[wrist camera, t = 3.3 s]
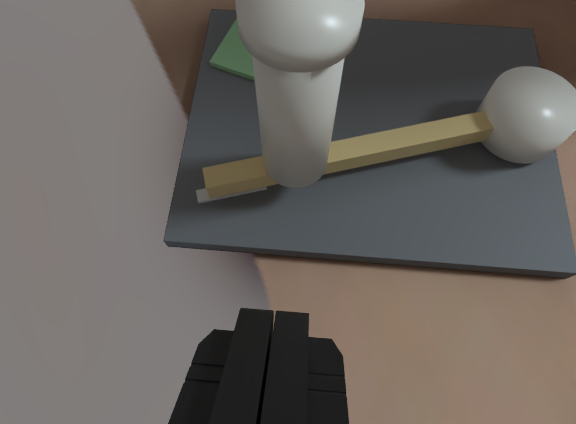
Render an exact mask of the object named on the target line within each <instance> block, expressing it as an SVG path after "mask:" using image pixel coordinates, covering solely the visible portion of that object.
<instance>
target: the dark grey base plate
mask: <svg viewBox="0 0 576 424" xmlns="http://www.w3.org/2000/svg"><path fill="white" fill-rule="evenodd" d="M522 66H531V67H539V68H540V63H539V57H538V52H537V47H536V41H535V36H534V31H533V29H530V28H514V27H497V26H481V25H464V24H448V23H432V22H415V21H399V20H382V19H366V18H362V23H361V28H360V33H359V38H358V40H357V43H356V45H355V46H354V48H353V50H352V51H351V52H350V53H349V54H348V55H347V56H346V57H345V59H344V65H343V71H342V77H341V83H340V89H339V95H338V101H337V107H336V114H335V120H334V126H333V132H332V138H331V142H333V141H338V140H343V139H348V138H352V137H357V136H362V135H367V134H372V133H377V132H382V131H387V130H392V129H397V128H402V127H407V126H412V125H417V124H421V123H426V122H431V121H436V120H441V119H446V118H451V117H456V116H461V115H466V114H471V113H476V110H477V109H478V107H479V105H480V104H481V102H482V101H483V99H484V98H485V96H486V95H487V93H488V91H489V90H490V88H491V87H492V85H493V84H494V82H495V81H496V79H497V78H498V77H499V76H500V75H501V74H502V73H504V72H506V71H507V70H510V69H512V68H516V67H522ZM259 156H262V146H261V136H260V127H259V117H258V107H257V98H256V88H255V78H254V69H253V59H252V55H251V54H250V53H249V52H248V51H247V49H246V48H245V47H244V45H243V43H242V41H241V38H240V35H239V29H238V21H237V14H236V11H235V10H218V9H212V10H211V15H210V19H209V24H208V29H207V34H206V39H205V43H204V48H203V53H202V58H201V63H200V67H199V72H198V77H197V82H196V87H195V91H194V96H193V101H192V106H191V111H190V115H189V120H188V125H187V130H186V135H185V139H184V144H183V149H182V154H181V159H180V163H179V169H178V173H177V178H176V183H175V188H174V193H173V197H172V202H171V207H170V212H169V216H168V221H167V226H166V231H165V236H164V242H165V243H166V245H167V246H168V247H169V246H170V247H181V248H193V249H206V250H219V251H231V252H244V253H256V254H269V255H282V256H294V257H307V258H319V259H332V260H345V261H357V262H370V263H382V264H395V265H408V266H420V267H433V268H445V269H458V270H471V271H483V272H496V273H508V274H521V275H534V276H546V277H559V278H569V277H572V276H574V275H576V256H575V251H574V245H573V240H572V235H571V229H570V224H569V218H568V213H567V208H566V202H565V197H564V192H563V186H562V181H561V176H560V170H559V165H558V159H557V154H556V149H555V150H554V151H553V152H552V153H551V154H550V155H549V156H548V157H546V158H545V159H543V160H541V161H538V162H535V163H529V164H521V163H514V162H510V161H506V160H504V159H501V158H499V157H498V156H496V155H494V154H493V153H491V152H490V151H489V150H488V149H486V147H485V146H484V145H483V144H482V143H481V142H476V143H471V144H467V145H462V146H457V147H452V148H448V149H443V150H438V151H433V152H429V153H424V154H419V155H414V156H409V157H405V158H400V159H395V160H390V161H386V162H381V163H376V164H371V165H367V166H362V167H357V168H352V169H347V170H343V171H338V172H333V173H328V174H324V175H322V176H321V178H320V179H319V180H318V181H316V182H315V183H313V184H311V185H309V186H306V187H302V188H289V187H285V186H282V185H280V184H276V185H271V186H266V187H262V188H257V189H252V190H247V191H243V192H238V193H233V194H228V195H223V196H219V197H214V198H209V195H208V192H207V190H206V186H205V180H204V175H203V169H202V168H205V167H210V166H215V165H219V164H224V163H229V162H234V161H239V160H244V159H249V158H254V157H259Z"/></svg>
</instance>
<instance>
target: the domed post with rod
mask: <svg viewBox="0 0 576 424" xmlns="http://www.w3.org/2000/svg"><path fill="white" fill-rule="evenodd" d="M235 6H236V14H237V21H238V29H239V35H240V38H241V41H242V43H243V45H244V47H245V48H246V49H247V51H248V52H249V53H250V54H251V55H252V59H253V69H254V78H255V88H256V98H257V107H258V117H259V127H260V136H261V146H262V156H259V157H254V158H249V159H244V160H239V161H234V162H229V163H224V164H219V165H215V166H210V167H205V168H202V169H203V175H204V180H205V186H206V190H207V192H208V195H209V198H214V197H219V196H223V195H228V194H233V193H238V192H243V191H247V190H252V189H257V188H262V187H266V186H271V185H276V184H280V185H282V186H285V187H289V188H302V187H306V186H309V185H311V184H313V183H315V182H316V181H318V180H319V179H320V178H321V176H322V175H324V174H328V173H333V172H338V171H343V170H347V169H352V168H357V167H362V166H367V165H371V164H376V163H381V162H386V161H390V160H395V159H400V158H405V157H409V156H414V155H419V154H424V153H429V152H433V151H438V150H443V149H448V148H452V147H457V146H462V145H467V144H471V143H476V142H481V143H482V144H483V145H484V146H485V147H486V149H488V150H489V151H490V152H491V153H493V154H494V155H496V156H498V157H499V158H501V159H504V160H506V161H510V162H514V163H521V164H529V163H535V162H538V161H541V160H543V159H545V158H546V157H548V156H549V155H550V154H551V153H552V152H553V151H554V150H555V149H556V148H558V147H559V146H560V145H561V144H562V143H563V142H564V141H565V140H566V139H567V138H568V137H569V136H570V135H571V134H572V133H573V132H574V131H575V130H576V89H575V88H574V87H573V86H572V85H571V84H570V83H569V82H568V81H567V80H565V79H564V78H563V77H561V76H560V75H558V74H556V73H554V72H552V71H549V70H546V69H543V68H539V67H531V66H522V67H516V68H512V69H510V70H507V71H506V72H504V73H502V74H501V75H500V76H499V77H498V78H497V79H496V81H495V82H494V84H493V85H492V87H491V88H490V90H489V91H488V93H487V95H486V96H485V98H484V99H483V101H482V102H481V104H480V105H479V107H478V109H477V110H476V113H471V114H466V115H461V116H456V117H451V118H446V119H441V120H436V121H431V122H426V123H421V124H417V125H412V126H407V127H402V128H397V129H392V130H387V131H382V132H377V133H372V134H367V135H362V136H357V137H352V138H348V139H343V140H338V141H333V142H331V138H332V132H333V126H334V120H335V114H336V107H337V101H338V95H339V89H340V83H341V77H342V71H343V65H344V59H345V57H346V56H347V55H348V54H349V53H350V52H351V51H352V50H353V48H354V46H355V45H356V43H357V40H358V38H359V33H360V28H361V23H362V18H363V13H364V6H365V1H364V0H235Z"/></svg>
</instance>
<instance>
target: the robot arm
mask: <svg viewBox="0 0 576 424" xmlns="http://www.w3.org/2000/svg"><path fill="white" fill-rule="evenodd" d="M273 319H274V311H272V310H260V309H248V308H241V309H240V311H239V315H238V319H237V322H236V326H235V330H234V331H227V330H216V329H214V330H213V331H212V332H211V333H210V334H209V335H208V336H207V337H206V338H204V339H203V340H202V341H201V342H200V343H199V344H198V347H197V350H196V352H195V355H194V358H193V360H192V364H191V367H190V368H189V371H188V373H187V376H186V378H185V383H184V384H183V386H182V389H181V392H180V394H179V397H178V399H177V402H176V405H175V407H174V410H173V412H172V415H171V418H170V420H169V423H168V424H349V418H348V407H347V396H346V385H345V374H344V363H343V355H342V354H341V352H340V351H339V349H338V348H337V346H336V345H335V343H334V342H333V340H332V339H327V338H314V337H308V330H309V313H299V312H286V311H276V315H275V322H274V329H273Z"/></svg>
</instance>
